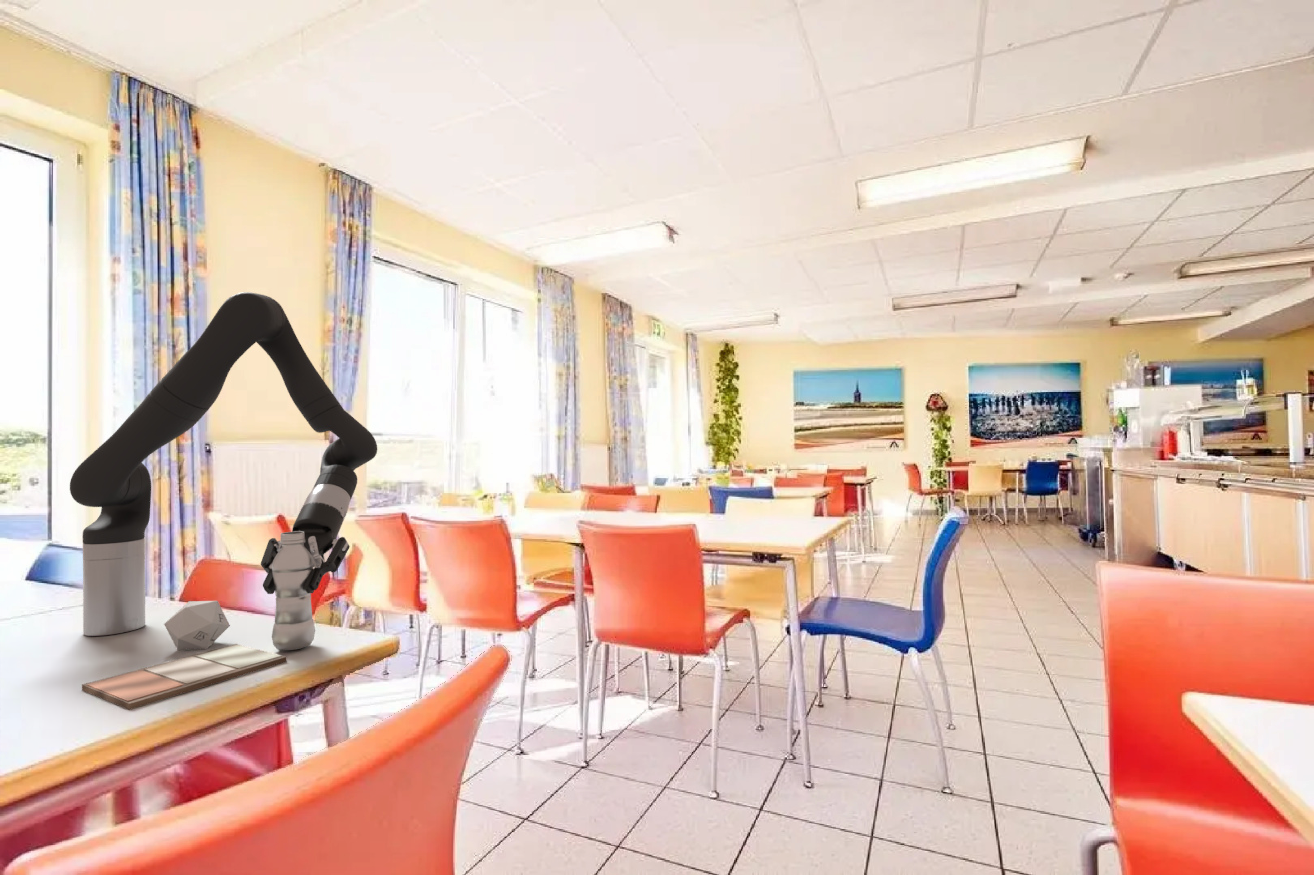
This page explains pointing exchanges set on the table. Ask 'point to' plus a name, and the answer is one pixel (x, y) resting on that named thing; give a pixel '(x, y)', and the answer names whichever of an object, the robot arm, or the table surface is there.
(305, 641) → the plastic bottle
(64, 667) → the table surface
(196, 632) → the die
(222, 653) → the game board
